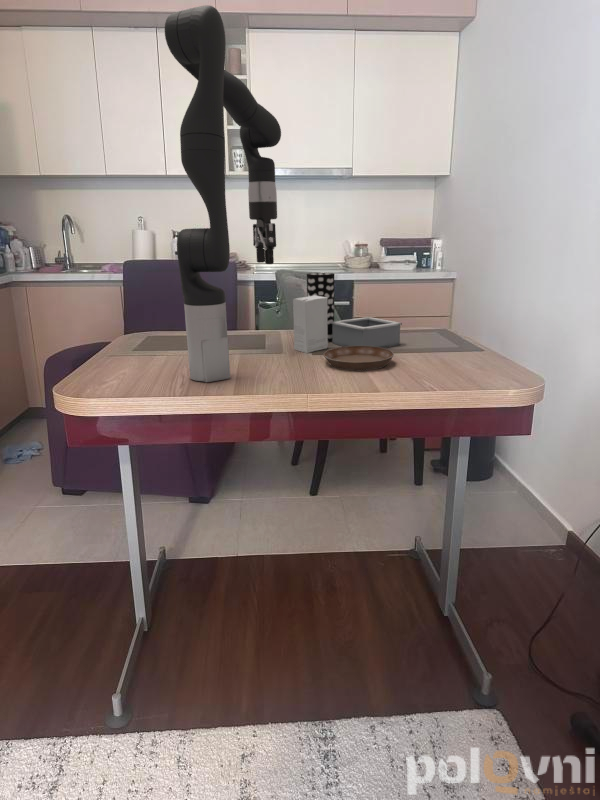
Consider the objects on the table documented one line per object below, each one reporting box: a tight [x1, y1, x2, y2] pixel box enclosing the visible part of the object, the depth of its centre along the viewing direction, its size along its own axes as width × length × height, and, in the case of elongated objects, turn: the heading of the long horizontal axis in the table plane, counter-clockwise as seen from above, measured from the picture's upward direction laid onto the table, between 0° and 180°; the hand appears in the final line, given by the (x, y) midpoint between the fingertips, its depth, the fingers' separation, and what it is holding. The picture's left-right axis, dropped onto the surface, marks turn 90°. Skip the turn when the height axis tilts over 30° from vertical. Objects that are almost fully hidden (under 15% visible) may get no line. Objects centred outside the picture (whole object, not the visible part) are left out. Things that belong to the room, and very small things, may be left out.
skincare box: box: [292, 295, 329, 354], centre depth 151 cm, size 8×6×15 cm
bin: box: [331, 316, 403, 349], centre depth 158 cm, size 15×15×6 cm
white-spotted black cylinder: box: [306, 272, 335, 343], centre depth 163 cm, size 8×8×20 cm
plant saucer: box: [323, 346, 395, 371], centre depth 136 cm, size 18×18×3 cm
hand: (265, 263), depth 148 cm, fingers open, 8 cm apart
